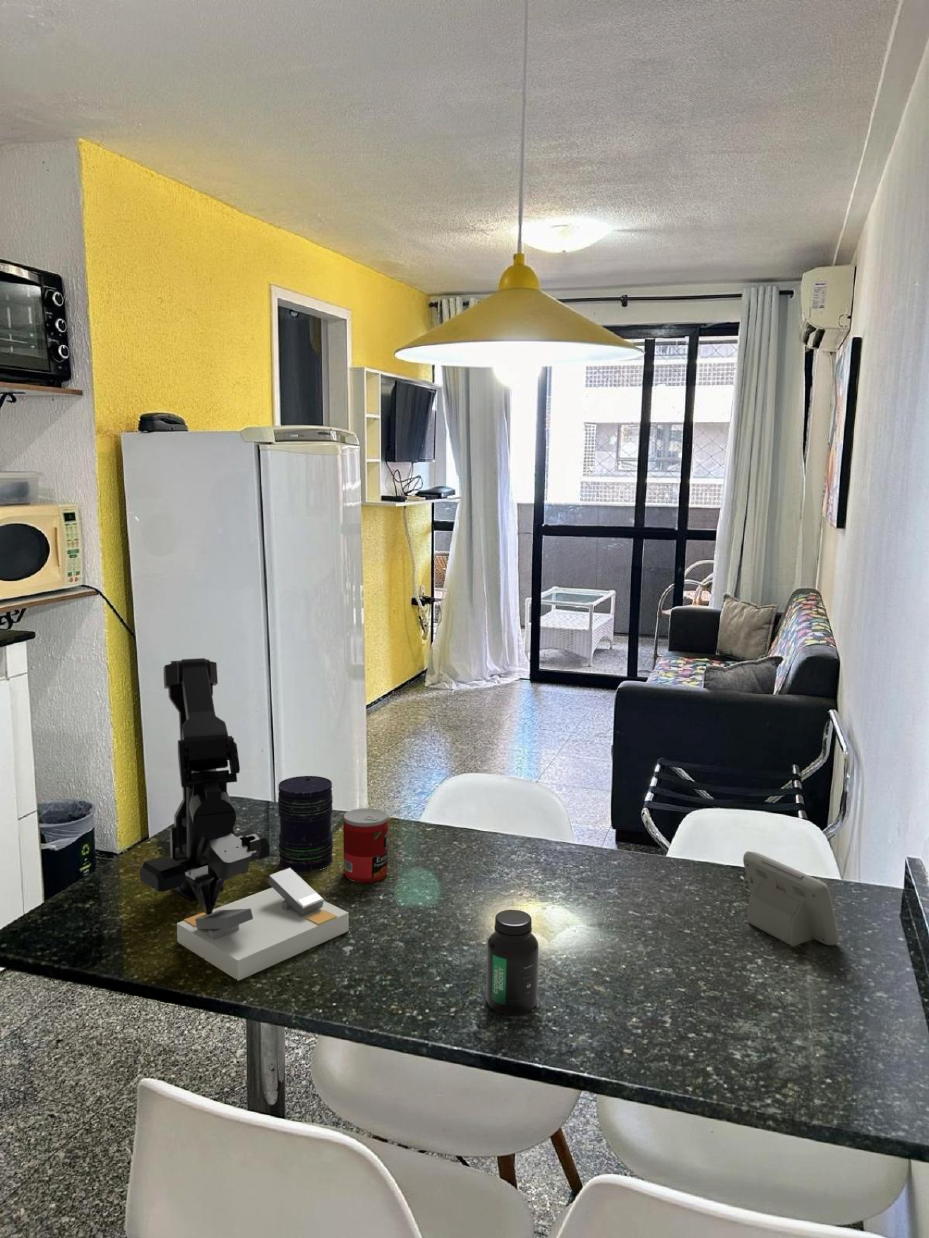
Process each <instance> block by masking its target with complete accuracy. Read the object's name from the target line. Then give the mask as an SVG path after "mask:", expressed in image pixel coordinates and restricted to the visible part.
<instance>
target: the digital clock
mask: <svg viewBox="0 0 929 1238" xmlns="http://www.w3.org/2000/svg"><path fill="white" fill-rule="evenodd" d="M742 860H743V861H742V862H743V866H744V867H743V868H744V870H745V875H746V879H747V883H748V888H749V892H750V896H749V898H748V906H747V907H748V909H747V923H748V924H750V925H752V926H754V927H755V928H758V929H760V930H761V931H763V932H765V933H767V934H769V935H770V936H772V937H775V938H776V939H778V940H780V941H782V942H784V943H785V944H787V945H789V946H791V947H795V946H797V945H801V944H803V943H807V942H809V941H812V940H813V941H814V940H815V941H818V942H820V943H822V944H823V945H827V946H835V945H838V943H839V931H838V926H837V922H836V918H835V912H834V907H833V902H832V901H833V900H832V897H831V893H830V892H831V891H830V888H829V886H828V885H827V883H825V882H823V881H822V880H820V879H818V878H815V877H813V876H811V875H809V874H806V873H804V872H802V871H800V870H798V869H795V868H793V867H790V866H788V865H786V864H784V863H782V862H779V861H777V860H775V859H774V858H773V859H772V858H770V857H768V856H766V855H763V854H761V853H759V852H756V851H748V850H747V851H746V852H744V854H743V858H742Z"/></svg>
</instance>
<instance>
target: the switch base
mask: <svg viewBox="0 0 929 1238" xmlns="http://www.w3.org/2000/svg"><path fill="white" fill-rule="evenodd" d="M233 909H251V912H252V916H253V919H252V920H249V921H247V922H244V923H242V924H239V925H237V926H234V927H232V928H226V929H197V925H196V921H195V919H197V918H198V917H201V916H203V915H206V914H205V913H204V912H203V911H202V912H200V913H197V914H195V915H193V916H190V917H187V918H185V919H184V920H182V921H179V922H177V923H176V935H177V936H176V938H177V939H176V940H177V943H178V944H180V945H181V946H183V947H184V948H187V949H188V950H190V952H192V953H194V954H196V955H197V956H198V957H200V958H202V959H203V958H204V959H203V960H204V961H206V962H208V963H209V964H211V965H213V966H215V967H216V968H217V969H219V970H220V971H222V972H224V973H225V974H227V975H228V976H230V977H231V978H233V979H234V980H236V979H237V980H236V981H241V980H243V979H246V978H248V977H250V976H252V975H254V974H256V973H258V972H261V971H263V970H265V969H267V968H271V967H272V966H274V965H277V964H279V963H281V962H283V961H285V960H287V959H290V958H292V957H294V956H296V955H299V954H301V953H303V952H305V951H307V950H309V949H311V948H314V947H316V946H318V945H321V944H323V943H325V942H327V941H330V940H332V939H334V938H336V937H339V936H340V935H343V934H345V933H348V932H349V929H350V928H349V924H350V923H349V921H350V920H349V916H350V915H349V912H348V911H347V910H344V909H342V908H341V907H337V906H335V905H334V904H331V903H329V902H327V901H325V900H324V902H323V906H322V908H320V909H317V910H315V911H312V912H310V913H307V914H305V915H303V916H301V915H300V914H299V913H298V912H297V911H296V910H295V909H294V908H293V907H292V906H291V905H290V904H289V903H288V902H287V901H286V900H285V899H284V898H283V897H282V896H281V895H280V894H279V893H278V892H277V891H276V890H275V889H273V888H272V887H269V888H267V889H265V890H262V891H259V892H256V893H253V894H251V895H249V896H246V897H243V898H240V899H238V900H235V901H232V902H230V903H226V904H223V905H222V906H219V907H216V908H214V909H213V911H212V912H214V911H217V910H233Z"/></svg>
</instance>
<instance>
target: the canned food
mask: <svg viewBox="0 0 929 1238" xmlns="http://www.w3.org/2000/svg"><path fill="white" fill-rule="evenodd" d="M342 822H343V825H342V829H343V832H342V834H343V835H342V836H343V837H342V838H343V841H342V842H343V843H342V845H343V847H342V848H343V872H344V876H345V878H347V879H348V880H350V879H351V880H350V881H352V880H354V881H353V882H355V881H357V882H356V883H362V882H366V883H365V884H368V883H375V882H379V881H381V880H383V879H384V878H385V877H386V876H387V874H388V871H389V816H388V813H387V812H385V811H384V810H380V809H377V808H370V807H368V808H367V807H366V808H365V807H363V808H362V807H361V808H355V809H351V810H348V811H347V812H345V813H344V815H343V821H342ZM378 880H379V881H378ZM367 882H368V883H367Z"/></svg>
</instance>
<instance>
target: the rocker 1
mask: <svg viewBox="0 0 929 1238" xmlns="http://www.w3.org/2000/svg"><path fill="white" fill-rule="evenodd" d="M252 919H253V916H252V912H251V909H233V910H217V911H214V912H212V913H210V914H206V915H203V916H201V917H198V918H197V919H195V921H196V925H197V929H226V928H232V927H234V926H237V925H239V924H242V923H244V922H247V921H249V920H252Z"/></svg>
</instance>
